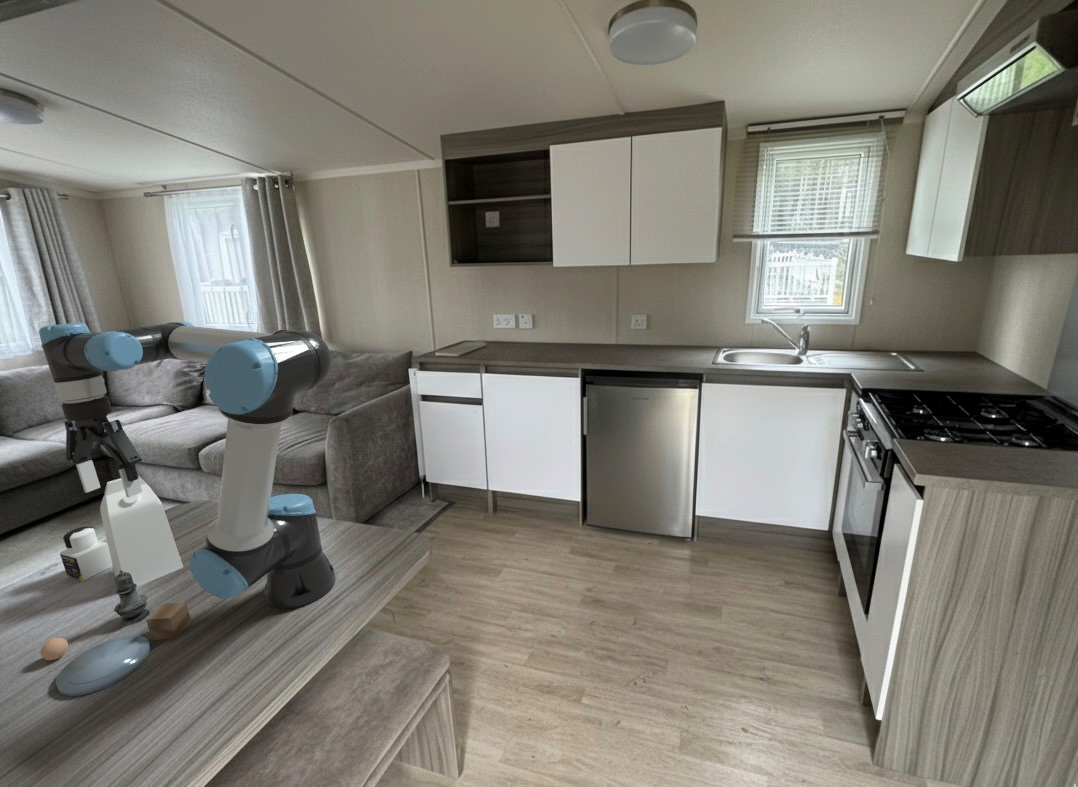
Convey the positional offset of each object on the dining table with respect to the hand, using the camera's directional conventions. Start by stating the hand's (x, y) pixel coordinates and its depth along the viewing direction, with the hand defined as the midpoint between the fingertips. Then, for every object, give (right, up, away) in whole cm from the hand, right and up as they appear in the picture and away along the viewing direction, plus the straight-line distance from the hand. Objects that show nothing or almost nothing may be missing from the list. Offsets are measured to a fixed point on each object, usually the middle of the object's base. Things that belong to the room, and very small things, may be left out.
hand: (113, 492), depth 110 cm
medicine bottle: (-24, -25, +22) cm, 42 cm away
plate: (+8, -32, -12) cm, 35 cm away
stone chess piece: (+3, -29, +3) cm, 29 cm away
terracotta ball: (-4, -30, -9) cm, 31 cm away
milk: (-8, -25, +21) cm, 33 cm away
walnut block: (+15, -29, -2) cm, 33 cm away
